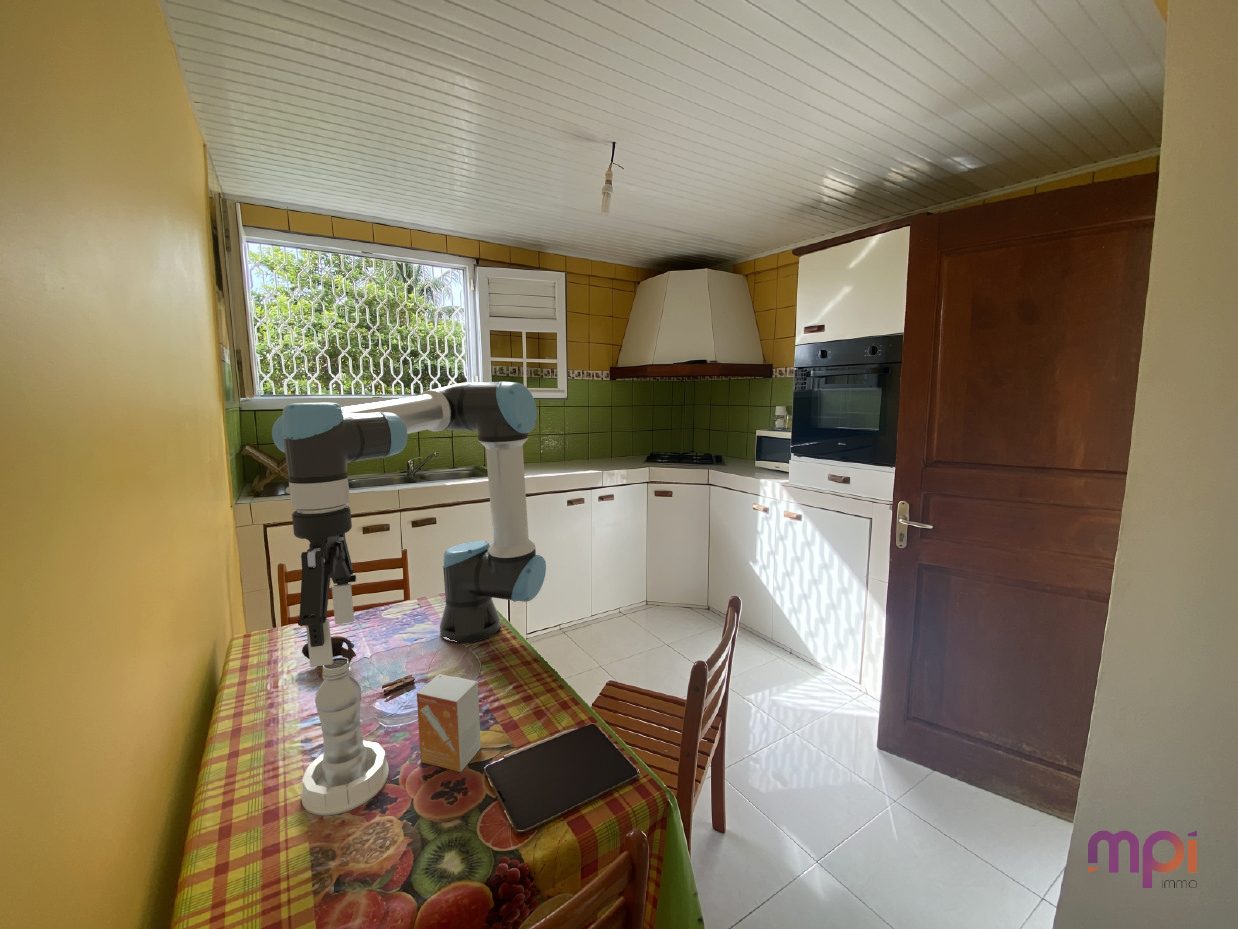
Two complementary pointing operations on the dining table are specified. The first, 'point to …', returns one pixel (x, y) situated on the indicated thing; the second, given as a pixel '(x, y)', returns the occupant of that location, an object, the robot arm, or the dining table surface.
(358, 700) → the plastic bottle
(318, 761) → the bowl
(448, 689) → the small box
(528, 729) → the dining table surface
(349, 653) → the broken clay pot
